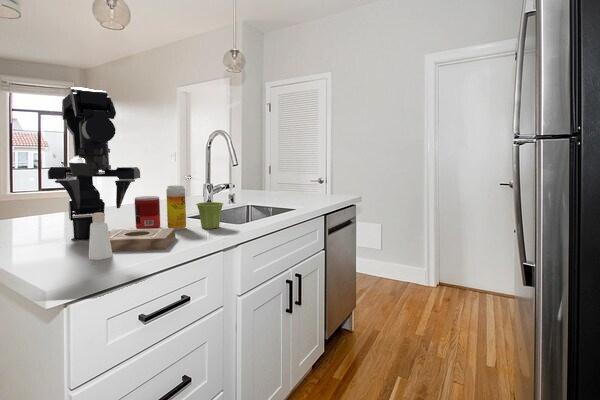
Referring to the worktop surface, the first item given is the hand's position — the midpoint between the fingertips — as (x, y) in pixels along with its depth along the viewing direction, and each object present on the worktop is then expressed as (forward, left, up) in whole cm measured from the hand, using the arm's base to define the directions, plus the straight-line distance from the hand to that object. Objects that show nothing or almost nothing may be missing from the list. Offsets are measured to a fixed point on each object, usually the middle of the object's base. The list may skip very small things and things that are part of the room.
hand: (98, 208), depth 85 cm
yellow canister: (+12, +34, -12) cm, 38 cm away
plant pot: (+23, +35, -12) cm, 44 cm away
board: (+5, +13, -12) cm, 18 cm away
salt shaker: (0, 0, -12) cm, 12 cm away
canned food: (+2, +36, -12) cm, 38 cm away
